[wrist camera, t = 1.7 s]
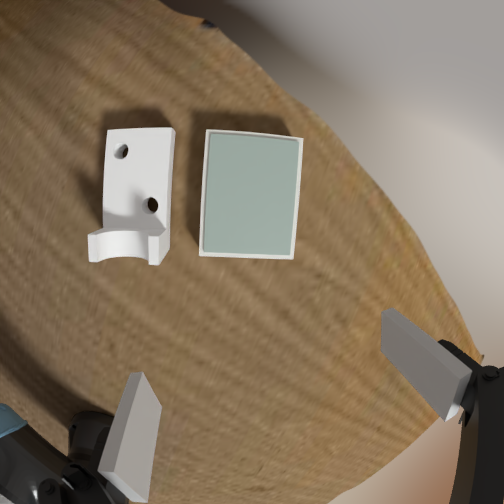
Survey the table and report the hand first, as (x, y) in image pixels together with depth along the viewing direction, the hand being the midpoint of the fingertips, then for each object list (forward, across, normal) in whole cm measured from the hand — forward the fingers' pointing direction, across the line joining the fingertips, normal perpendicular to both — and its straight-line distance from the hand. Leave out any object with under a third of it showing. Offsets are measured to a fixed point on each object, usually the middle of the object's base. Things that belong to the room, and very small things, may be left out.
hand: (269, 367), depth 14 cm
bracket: (+20, -9, +11) cm, 25 cm away
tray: (+20, +3, +7) cm, 21 cm away
